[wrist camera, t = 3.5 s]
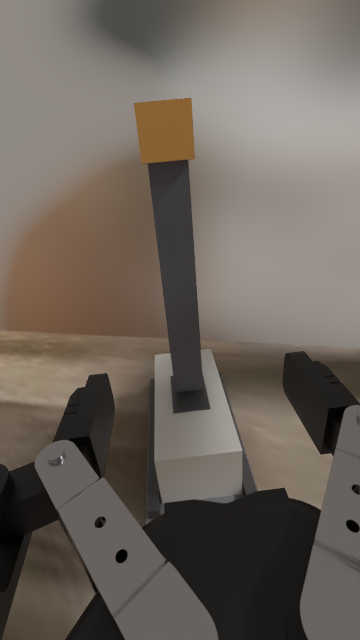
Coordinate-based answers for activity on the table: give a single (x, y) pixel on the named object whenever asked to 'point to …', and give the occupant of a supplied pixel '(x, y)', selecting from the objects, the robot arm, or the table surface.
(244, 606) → the robot arm
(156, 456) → the breaker base
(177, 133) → the lever
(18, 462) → the table surface
